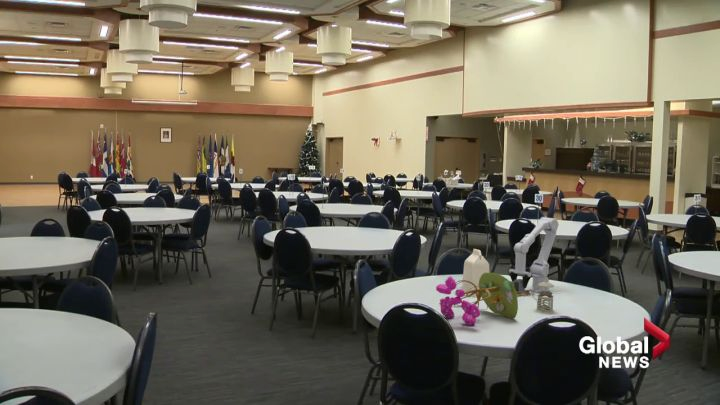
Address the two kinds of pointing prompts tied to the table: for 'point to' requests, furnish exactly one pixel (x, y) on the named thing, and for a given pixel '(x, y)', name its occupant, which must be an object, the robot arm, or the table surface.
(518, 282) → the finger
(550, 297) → the french press
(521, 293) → the rail
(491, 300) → the magenta flower sprig
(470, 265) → the milk
